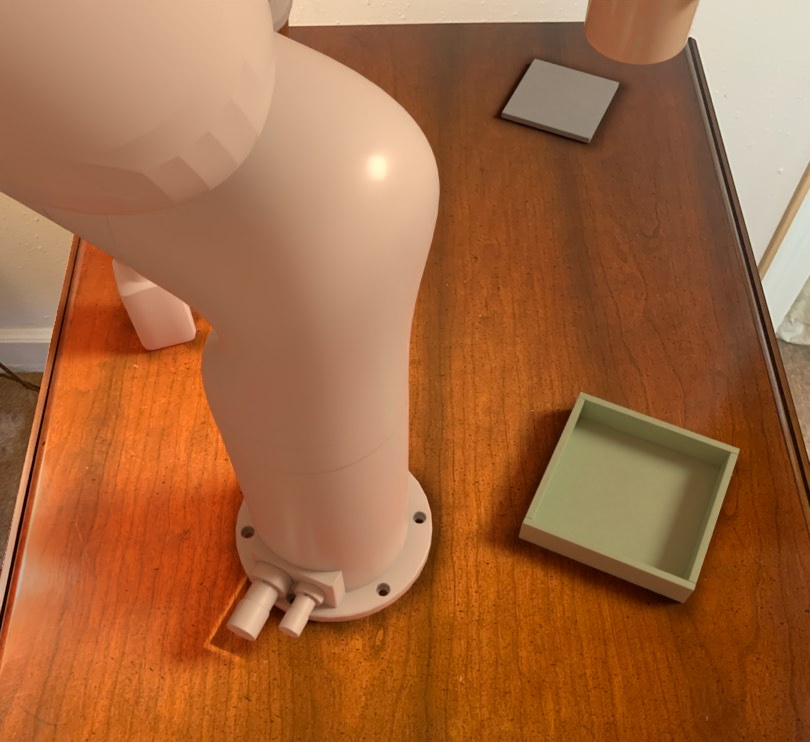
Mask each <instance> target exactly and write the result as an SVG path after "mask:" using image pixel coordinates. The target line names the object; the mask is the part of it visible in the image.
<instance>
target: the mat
mask: <svg viewBox="0 0 810 742" xmlns="http://www.w3.org/2000/svg"><path fill="white" fill-rule="evenodd" d="M619 85H620V82H619V81H616V80H612V79H610V78H609V79H608V78H604V77H601V76H598V75H594V74H592V73H587V72H584V71H580V70H577V69H572V68H570V67H566V66H563V65H559V64H555V63H552V62H548V61H545V60H542V59H538V58H534V59H533V60H532V62H531V64H530V65H529V66H528V69H527V70H526V71H525V73H524V74H523V77H522V78H521V80H520V82H519V84H518V85H517V87H516V88H515V90H514V92H513V94H512V95H511V97H510V98H509V100H508V102H507V103H506V105H505V107H504V109H503V110H502V112H501V118H503V119H506V120H509V121H511V122H516V123H520V124H522V125H525V126H529V127H533V128H535V129H540V130H543V131H546V132H549V133H552V134H555V135H559V136H562V137H565V138H569V139H573V140H576V141H579V142H582V143H586V144H590V142H591V140H592V138H593V136H594V134H595V133H596V131H597V129H598V126H599V124H600V122H601V121H602V120H603V117H604V115H605V114H606V111H607V109H608V108H609V106H610V104H611V102H612V100H613V98H614V96H615V94H616V93H617V91H618V88H619Z"/></svg>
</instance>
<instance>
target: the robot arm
mask: <svg viewBox="0 0 810 742" xmlns="http://www.w3.org/2000/svg"><path fill="white" fill-rule="evenodd" d="M440 188H441V187H440V177H439V170H438V165H437V161H436V157H435V155H434V152H433V149H432V146H431V145H430V143H429V141H428V138H427V137H426V134H424V132H423V130H422V129H421V126H420V125H419V124H418V123H417V122H416V120H415V119H414V118H413V117H412V115H410V113H409V112H408V111H407V110H406V109H405V108H404V106H402V105H401V104H400V103H399V102H397V100H396V99H394V98H393V97H392V96H391V95H390V94H389V93H387V92H386V91H385V90H384V89H383V88H381V87H380V86H378V85H377V84H375V83H374V82H372V81H371V80H370V79H368V78H367V77H365V76H364V75H362V74H360V73H359V72H357V71H356V70H354V69H352V68H350V67H348V66H347V65H345V64H343V63H341V62H340V61H338V60H336V59H335V58H332V57H330V56H328V55H326V54H324V53H323V52H320V51H318V50H315V49H313V48H311V47H309V46H307V45H305V44H302V43H300V42H298V41H296V40H294V39H292V38H290V37H289V38H288V37H285V36H283V35H281V34H279V33H277V32H275V31H273V23H272V15H271V10H270V6H269V2H268V0H0V193H2V194H4V195H5V196H8V197H9V198H11V199H13V200H14V201H17V202H18V203H20V204H22V205H23V206H24V207H26V208H28V209H30V210H32V211H33V212H35V213H37V214H39V215H40V216H42V217H44V218H46V219H48V220H49V221H51V222H52V223H54V224H56V225H57V226H60V227H61V228H63V229H65V230H66V231H68V232H70V233H72V234H73V235H75V236H76V237H79V239H81V240H83V241H85V242H86V243H88V244H90V245H92V246H94V247H95V248H97V249H99V250H100V251H102V252H103V253H105V254H107V255H108V256H110V257H111V258H113V257H114V258H115V259H117V260H119V261H120V262H122V263H124V264H126V265H127V266H129V267H131V268H132V269H133V270H134V271H136V272H137V273H138V274H139V275H141V276H142V277H144V278H146V279H147V280H149V281H151V282H152V283H154V284H156V285H157V286H159V287H161V288H162V289H164V290H166V291H167V292H169V293H171V294H172V295H174V296H175V297H177V298H179V299H180V300H181V301H183V302H184V303H186V304H187V305H188V306H190V309H192V310H193V311H194V312H196V313H197V314H198V315H199V316H200V317H201V318H202V319H204V320H205V321H206V323H208V325H209V326H211V330H210V331H209V334H208V336H207V338H206V341H205V343H204V347H203V349H202V354H201V363H200V364H201V365H200V373H201V381H202V387H203V390H204V394H205V397H206V402H207V404H208V407H209V409H210V412H211V415H212V418H213V421H214V423H215V426H216V427H217V429H218V431H219V434H220V436H221V439H222V442H223V445H224V447H225V451H226V453H227V456H228V458H229V462H230V464H231V466H232V469H233V472H234V475H235V477H236V481H237V483H238V485H239V488H240V491H241V493H242V495H243V496H242V497H243V499H242V502H241V505H240V507H239V509H238V512H237V518H236V523H235V543H236V549H237V553H238V556H239V557H238V558H239V560H240V563H241V566H242V568H243V570H244V571H245V574H246V576H247V578H248V580H249V581H250V583H251V585H250V586H249V588H248V590H247V592H246V593H245V595H244V596H243V598H241V599H240V600H239V602H238V603H237V605H236V607H235V609H234V610H233V612H232V614H231V616H230V617H229V619H228V621H227V623H225V626H226V628H227V629H228V630H229V631H231V632H232V633H234V634H235V635H237V637H240V638H242V639H244V640H247V641H250V642H256V640H257V638H258V636H259V634H260V633H261V631H262V629H263V627H264V626H265V624H266V622H267V620H268V618H269V617H270V612H271V610H272V608H273V606H275V607H277V608H278V609H280V610H281V611H283V612H285V614H284V616H283V617H282V619H281V621H280V623H279V625H278V627H277V628H278V629H279V631H281V632H282V633H283V634H285V635H287V636H289V637H291V638H295V639H299V638H300V636H301V634H302V632H303V630H304V628H305V626H306V625H307V623H308V621H309V620H310V621H313V622H319V623H343V622H348V621H353V620H359V619H362V618H365V617H368V616H370V615H373V614H375V613H378V612H380V611H381V610H384V609H386V608H387V607H388V606H390V605H392V604H394V603H395V602H396V601H397V600H398V599H400V598H401V597H402V596H403V595H404V594H405V593H407V591H409V590H410V588H411V587H412V586H413V584H414V583H415V582H416V580H417V579H418V578H419V577H420V575H421V573H422V571H423V569H424V567H425V565H426V563H427V561H428V557H429V554H430V549H431V546H432V536H433V521H432V511H431V508H430V504H429V501H428V498H427V495H426V494H425V492H424V489H423V488H422V486H421V484H420V482H419V481H418V480H417V479H416V477H415V476H414V475H413V474H412V473H411V472H410V470H409V464H410V463H409V455H410V453H409V452H410V449H409V447H410V445H409V443H410V442H409V441H410V439H409V437H410V436H409V435H410V432H409V431H410V384H409V383H410V347H411V346H410V345H411V334H412V324H413V318H414V314H415V307H416V302H417V299H418V294H419V290H420V285H421V282H422V279H423V274H424V270H425V267H426V263H427V260H428V257H429V253H430V250H431V246H432V243H433V238H434V233H435V229H436V224H437V219H438V214H439V204H440V203H439V202H440V191H441V190H440ZM114 258H113V259H114ZM417 521H421V522H422V523H421V522H420V523H419V522H418V523H417ZM249 536H251V537H249ZM382 592H385V593H386V595H380V593H382Z"/></svg>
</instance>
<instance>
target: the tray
mask: <svg viewBox="0 0 810 742" xmlns="http://www.w3.org/2000/svg"><path fill="white" fill-rule="evenodd" d="M740 451H741V449H740V448H738V447H736V446H733V445H731V444H727V443H725V442H722V441H719V440H716V439H713V438H711V437H708V436H705V435H702V434H699V433H697V432H695V431H691V430H689V429H686V428H682V427H680V426H678V425H675V424H672V423H670V422H666V421H663V420H661V419H658V418H655V417H652V416H649V415H647V414H644V413H642V412H641V413H640V412H638V411H637V410H633V409H631V408H627V407H624V406H622V405H619V404H616V403H613V402H612V401H611V402H610V401H608V400H605V399H602V398H599V397H597V396H593V395H591V394H588V393H585V392H584V391H583V392H582V391H580V392H579V394H578V396H577V397H576V401H575V403H574V405H573V407H572V410H571V412H570V414H569V416H568V419H567V421H566V423H565V425H564V428H563V430H562V433H561V435H560V437H559V439H558V441H557V444H556V446H555V448H554V451H553V453H552V454H551V457H550V459H549V462H548V464H547V466H546V469H545V471H544V473H543V475H542V477H541V480H540V482H539V485H538V487H537V489H536V491H535V493H534V496H533V498H532V500H531V502H530V505H529V507H528V509H527V512H526V514H525V516H524V518H523V521H522V523H521V527H520V530H519V532H518V533H519V534H518V538H519V539H521V540H524V541H526V542H529V543H532V544H534V545H536V546H539V547H541V548H544V549H546V550H549V551H551V552H554V553H557V554H559V555H562V556H564V557H567V558H569V559H572V560H574V561H577V562H579V563H581V564H584V565H587V566H589V567H592V568H594V569H597V570H599V571H601V572H604V573H607V574H609V575H612V576H614V577H617V578H619V579H622V580H625V581H627V582H629V583H632V584H634V585H636V586H639V587H642V588H644V589H646V590H650V591H652V592H654V593H656V594H659V595H662V596H664V597H667V598H668V599H671V600H673V601H677V602H679V603H681V604H682V603H683V604H684V603H685V602H686V601H687V599H688V598H690V596H691V595H692V593H693V592H695V591H694V590H695V589H696V586H697V582H698V579H699V576H700V573H701V570H702V566H703V563H704V560H705V558H706V554H707V553H708V548H709V545H710V543H711V539H712V536H713V534H714V533H713V532H714V529H715V527H716V524H717V520H718V517H719V515H720V511H721V509H722V506H723V502H724V499H725V496H726V493H727V490H728V487H729V484H730V480H731V478H732V475H733V472H734V468H735V466H736V463H737V459H738V456H739V453H740Z"/></svg>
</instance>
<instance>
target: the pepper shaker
mask: <svg viewBox="0 0 810 742" xmlns="http://www.w3.org/2000/svg"><path fill="white" fill-rule="evenodd" d="M112 258H113V259H112V261H111V264H112V270H113V275H114V279H115V284H116V288H117V291H118V294H119V297H120V299H121V301H122V304H123V305H124V308H125V310H126V312H127V314H128V317H129V319H130V321H131V323H132V325H133V328H134V331H135V333H136V335H137V337H138V339H139V341H140V343H141V345H142V346H143V348H145V349H146V350H147V351H155V350H159V349H163V348H167V347H171V346H176V345H179V344H183V343H187V342H191V341H192V340H194V339H195V338H196V334H197V333H196V332H197V329H196V326H195V322H194V318H193V314H192V311H191V307H190V306H188V305H187V304H186V303H184V302H183V301H181V300H180V299H179V298H177V297H175V296H174V295H172V294H171V293H169V292H167V291H166V290H164V289H162V288H161V287H159V286H157V285H156V284H154V283H152V282H151V281H149V280H147V279H146V278H144V277H142V276H141V275H139V274H138V273H137V272H136V271H134V270H133V269H132V268H131V267H129V266H127V265H126V264H124V263H122V262H120V261H119V260H117V259H115V258H114V257H112Z"/></svg>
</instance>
